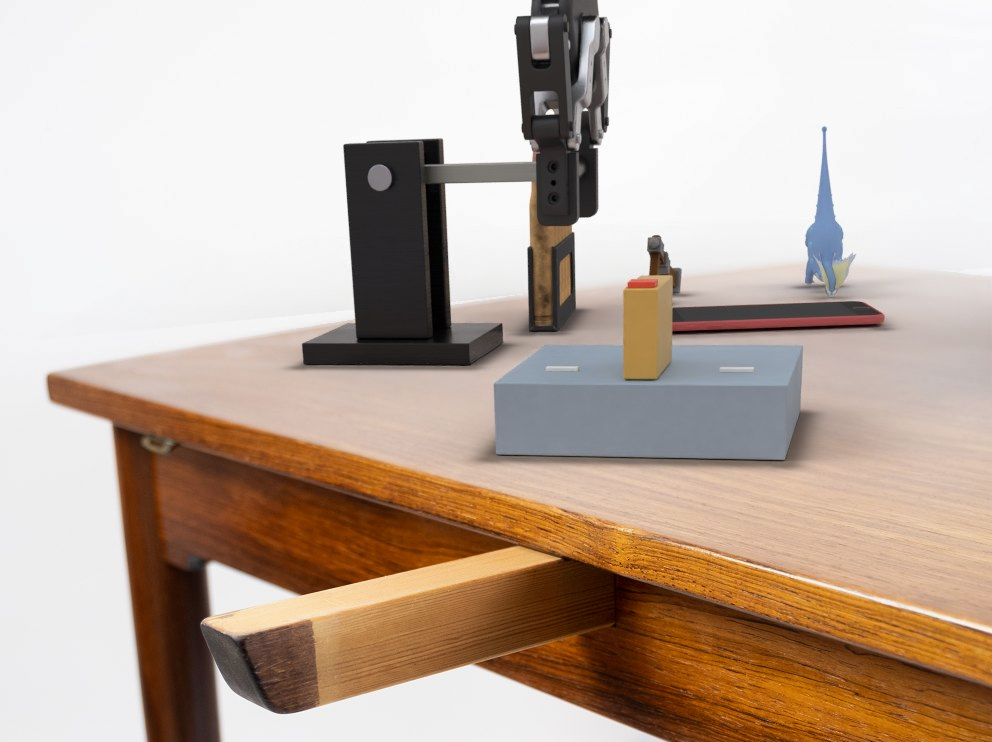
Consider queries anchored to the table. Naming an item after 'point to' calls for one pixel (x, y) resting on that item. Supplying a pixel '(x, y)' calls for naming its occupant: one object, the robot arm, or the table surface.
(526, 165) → the handle lever
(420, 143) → the lever stand
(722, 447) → the switch base
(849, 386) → the table surface
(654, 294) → the yellow block
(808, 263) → the dinosaur figurine
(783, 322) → the smartphone
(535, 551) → the table surface
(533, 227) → the ammunition clip
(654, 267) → the wooden post with brackets
